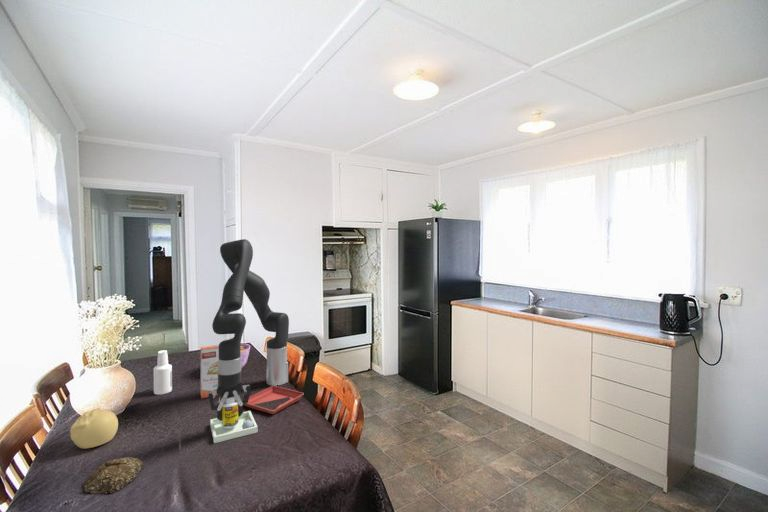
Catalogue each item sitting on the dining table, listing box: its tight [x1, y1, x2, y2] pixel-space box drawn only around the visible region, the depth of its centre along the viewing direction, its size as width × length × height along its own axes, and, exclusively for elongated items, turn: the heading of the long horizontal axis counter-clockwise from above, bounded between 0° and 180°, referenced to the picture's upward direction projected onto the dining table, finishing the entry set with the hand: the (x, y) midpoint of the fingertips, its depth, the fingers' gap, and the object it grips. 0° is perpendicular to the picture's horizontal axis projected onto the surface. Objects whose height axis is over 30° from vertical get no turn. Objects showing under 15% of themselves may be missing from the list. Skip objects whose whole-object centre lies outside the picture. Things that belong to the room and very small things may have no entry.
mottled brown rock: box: [82, 456, 145, 495], centre depth 97 cm, size 13×12×5 cm
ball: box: [242, 420, 253, 429], centre depth 122 cm, size 4×4×4 cm
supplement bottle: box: [221, 396, 238, 428], centre depth 123 cm, size 6×6×10 cm
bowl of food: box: [240, 342, 251, 368], centre depth 181 cm, size 20×20×12 cm
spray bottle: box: [153, 349, 173, 396], centre depth 154 cm, size 7×7×18 cm
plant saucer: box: [243, 385, 304, 415], centre depth 144 cm, size 18×18×3 cm
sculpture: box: [69, 407, 119, 450], centre depth 114 cm, size 12×12×11 cm
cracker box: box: [200, 344, 219, 399], centre depth 153 cm, size 14×6×21 cm, turn 122°
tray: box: [209, 410, 259, 444], centre depth 123 cm, size 14×14×2 cm
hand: (229, 417), depth 123 cm, fingers closed on supplement bottle, 5 cm apart
